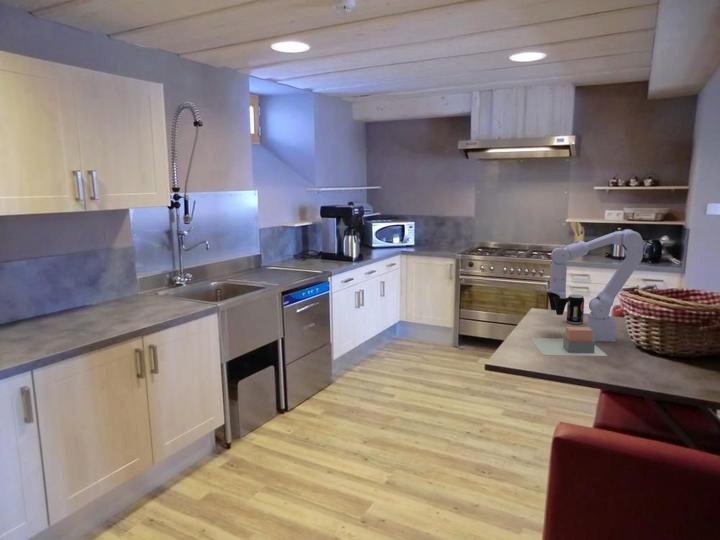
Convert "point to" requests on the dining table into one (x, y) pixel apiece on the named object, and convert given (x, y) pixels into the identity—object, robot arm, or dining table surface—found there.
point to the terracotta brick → (579, 334)
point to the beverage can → (575, 309)
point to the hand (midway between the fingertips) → (556, 312)
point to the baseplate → (559, 347)
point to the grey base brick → (578, 346)
